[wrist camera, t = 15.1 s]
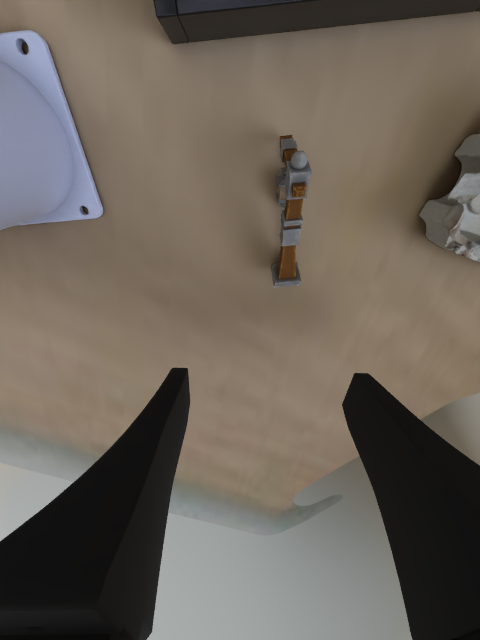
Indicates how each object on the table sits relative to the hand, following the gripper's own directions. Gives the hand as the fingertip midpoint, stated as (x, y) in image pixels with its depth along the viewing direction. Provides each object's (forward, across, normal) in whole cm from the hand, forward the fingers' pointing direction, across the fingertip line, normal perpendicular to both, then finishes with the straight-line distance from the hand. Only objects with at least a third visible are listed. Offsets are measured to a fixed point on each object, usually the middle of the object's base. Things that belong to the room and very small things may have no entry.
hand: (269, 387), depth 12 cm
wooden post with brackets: (+10, -1, -5) cm, 11 cm away
